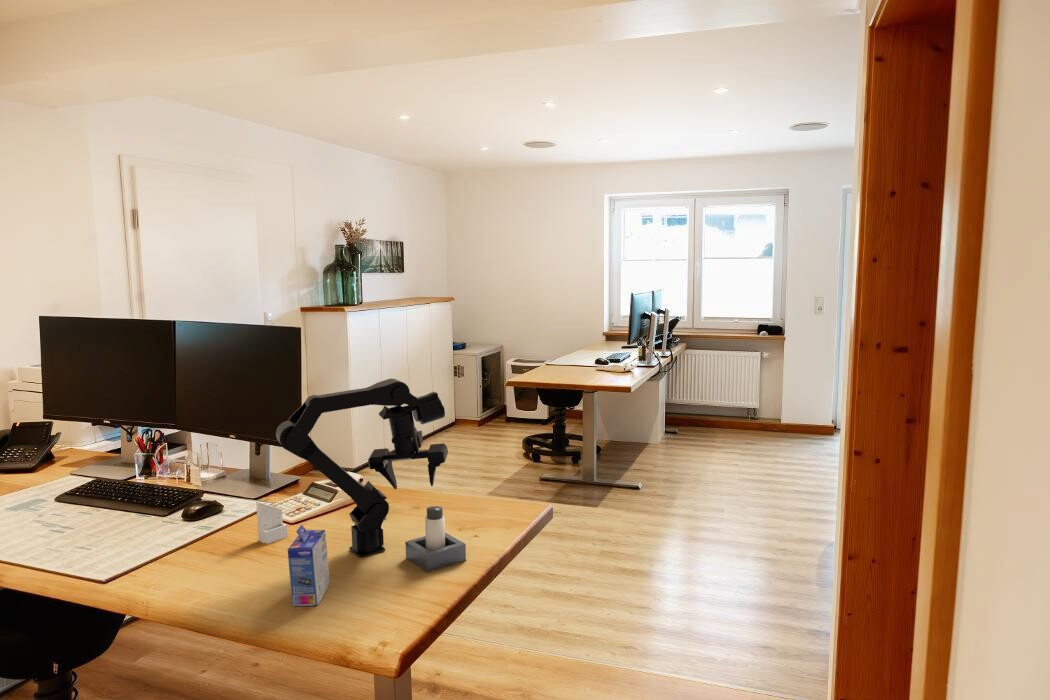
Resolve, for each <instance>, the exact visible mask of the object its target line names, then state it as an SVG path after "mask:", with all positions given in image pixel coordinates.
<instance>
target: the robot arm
mask: <svg viewBox="0 0 1050 700" xmlns="http://www.w3.org/2000/svg"><path fill="white" fill-rule="evenodd" d="M372 405H373V406H383V408H382V409H381V410H380V411H379V412H378V415H379V417H380V418H381V419H382V420H388V422H389V427H390V432H391V444H393V448H394V452H390V449H389V448H387V447H385V448H376V449H375V448H374V449H373V450H372V452H371V454H370V456H368V459H367V464H368V469H370V470H374V472H375V473H377V472H378V473H380V474H381V475H382V476H383V477H384V478H385V480H386V481H388V483H389V484H390V485H391V487H392V488H393V489H394V490H398V489H397V488H398V483H397V482H398V481H397V479H396V474H395V472H394V468H393V462H396V461H398V462H399V461H407V460H408V461H409V460H420V459H427V462H428V465H427V470H428V478H429V483H430V486H431V487H433V486H434V482H435V477H436V471H437V467H441V464H444V463H445V462H446V460H447V458H448V454H449V451H448V446H447V444H446V443H444V442H442V443H434V444H433V443H432V444H430V445H429V447H428V449H423V450H421V448H422V444H423V443H424V439H423V431H422V430H418V429H417V427H415V422H419V424H421V425H425V424H428V423H432V422H435V421H438V420H442V419H444V418H445V415H446V413H445V412H446V411H445V406H444V405H443V403H442V401H441V399H440V397H439V393H438V392H435V391H432V392H429V393H427V394H425V395H421V396H415V395H414V394H412V393H411V391H410V388H409V386H408V384H406V383H405V382H403V381H400V380H399V379H396V378H388V379H385V380H381V381H379V382H376V383H374V384H371V385H370V386H367V387H363V388H357V389H350V390H344V391H337V392H332V393H324V394H312V395H310V396H308V397H307V398H306V399H305V401H304V402H303V404H301V405H300V406H299V408H297V409H296V410H295V411H294V412H293V413H292V414H291V416H290V417H289V418H288V419H287V420H286V421H282V422H281V423H280V424H279V425H278V426H277V428H276V431H275V437H276V440H277V441H278V442H279V444H280V445H281V447H282V448H283V449H285V451H288V452H289V453H291V454H293V455H294V456H296V457H298V458H301V459H303V460H304V461H306V462H309V463H310V464H311V465H312V466H313V467H314V468H316V469H317V470H318V471H319V472H320V473H321V474H323V475H324V476H325V477H326V478H327V479H329V480H330V481H331V482H332V483H333V484H334V485H335V486H337V487H338V488H339V489H340V490H342V492H344V493H345V494H346V495H348V497H350V499H351V500H352V501H353V502H354V503H355V505H356V506H355V507H354V508H353V509H352V510H351V512H350V513H349V517H350V519H351V521H352V522H353V524H354V525H351V546H350V547H349V549H348V550H350V551H351V553H354V554H355V555H356V556H358V557H359V558H364V557H368V556H370V555H375V554H377V553H381V552H385V551H386V548H385V547H384V544H385V542H384V529H383V528H382V525H383V522H384V520H383V519H384V518H385V517H386V518H387V516H388V514H389V511H390V505H389V502H388V501H387V500H386V499H388V497H387V496H386V495H385V494H384V493H383V492H382V491H381V489H377V488H376V487H375V486H374V485H373V484H372V482H370V481H369V480H368V481H367V482H366V483H365V485H364V484H363V483H361V482H359V481H358V480H356V479H355V478H354V477H353V476H352V475H351V474H349V473H348V472H347V471H346V470H345V469H343V467H342V466H340V465H339V464H338V463H337V462H336V461H334V460H333V459H332V458H331V457H330V456H329V455H328V454H326V453H325V452H324V451H323V450H321V449H320V447H318V445H317V444H316V443H315V441H314V440H313V439H312V438H311V437H310V435H309V434H310V433H311V432H312V431H313V428H314V427H315V425H316V424H317V422H318V420H319V418H320V417H321V416H322V414H323V413H325V414H326V413H329V412H330V413H331V412H335V411H342V410H348V409H354V408H359V407H365V406H372ZM403 405H404V406H403ZM388 406H389V407H388Z"/></svg>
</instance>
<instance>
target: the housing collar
mask: <svg viewBox="0 0 1050 700" xmlns="http://www.w3.org/2000/svg"><path fill="white" fill-rule="evenodd" d="M466 551H467V549H466V543H465V542H463V541H462V540H460V539H458V538H456V537H454V536H452V535H450V534H449V533H447V532H445V547H443V548H439V549H436V550H433V551H428V550H427V549H426V535H425V536H420V537H417V538H414V539H410V540H407V541H405V558H406V559H407V560H408V561H409V562H411V563H413V564H414V565H415V566H417V567H419V568H420V569H422V570H423V571H425V573H431V572H434V571H437V570H441V569H444V568H447V567H451V566H453V565H456V564H460V563H462V562H466V561H467V553H466Z"/></svg>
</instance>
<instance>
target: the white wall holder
mask: <svg viewBox="0 0 1050 700" xmlns="http://www.w3.org/2000/svg"><path fill="white" fill-rule="evenodd" d="M255 505H256V518H257V519H256V521H257V536H258V542H260V541H261V542H260V543H263V542H264V543H263V544H265V543H266V544H265V545H268V544H271V543H274V541H275V542H277V541H280V540H283V539H286V538H288V537H289V536H288V524H285V523H283V509H282V508H278V507H275V506H272V505H270V504H265V503H262V502H258V501H256V502H255Z"/></svg>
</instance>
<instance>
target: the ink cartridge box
mask: <svg viewBox="0 0 1050 700" xmlns="http://www.w3.org/2000/svg"><path fill="white" fill-rule="evenodd" d="M326 532H327V531H326V530H325V529H311V530H310V529H308V530H307V529H306V528H305V527H304V525H303V524H301V525H300V526H299V527H298V528H297V530H296V534H297V537H296V538H295V539H294V540H293V542H292V543H291V544H290V545H289V547H288V548H287V557H288V558H287V559H288V560H287V562H288V571H289V581H290V582H289V583H290V592H291V601H292V606H293V607H316V606H318V605H319V604H320V602H321V600H322V599H323V596H324V595H325V593H326V591H327V589H328V587H329V586H330V573H329V572H330V571H329V562H328V560H329V557H328V547H327V546H328V545H327V534H326Z"/></svg>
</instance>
